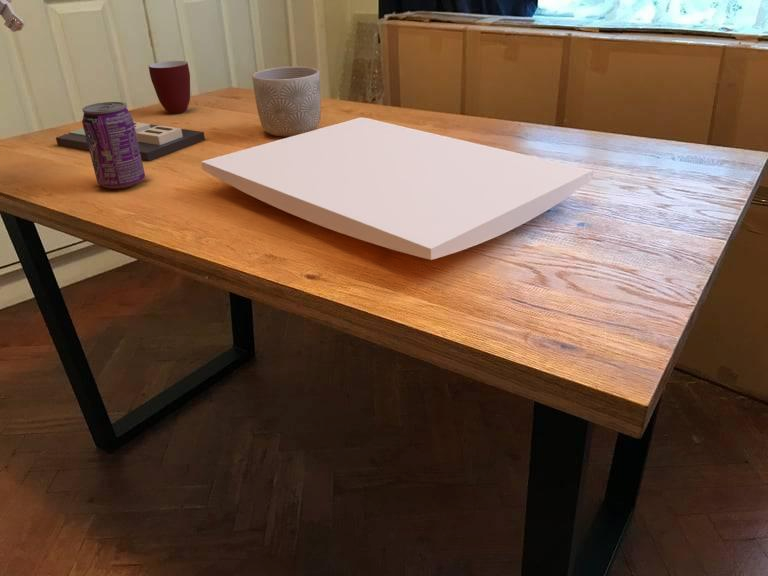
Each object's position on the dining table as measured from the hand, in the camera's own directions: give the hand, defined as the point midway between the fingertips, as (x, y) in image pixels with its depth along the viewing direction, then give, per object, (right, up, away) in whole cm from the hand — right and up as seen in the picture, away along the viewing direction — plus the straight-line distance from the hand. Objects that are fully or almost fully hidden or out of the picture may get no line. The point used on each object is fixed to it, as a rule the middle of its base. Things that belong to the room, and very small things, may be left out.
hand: (0, 32), depth 93 cm
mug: (+9, +3, +52) cm, 53 cm away
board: (+55, -23, +1) cm, 60 cm away
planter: (+36, -6, +34) cm, 50 cm away
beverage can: (+13, -20, +10) cm, 26 cm away
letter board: (+7, -9, +31) cm, 33 cm away
